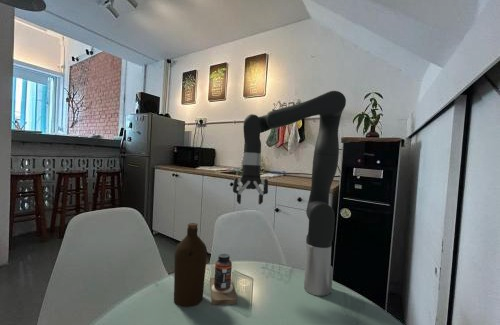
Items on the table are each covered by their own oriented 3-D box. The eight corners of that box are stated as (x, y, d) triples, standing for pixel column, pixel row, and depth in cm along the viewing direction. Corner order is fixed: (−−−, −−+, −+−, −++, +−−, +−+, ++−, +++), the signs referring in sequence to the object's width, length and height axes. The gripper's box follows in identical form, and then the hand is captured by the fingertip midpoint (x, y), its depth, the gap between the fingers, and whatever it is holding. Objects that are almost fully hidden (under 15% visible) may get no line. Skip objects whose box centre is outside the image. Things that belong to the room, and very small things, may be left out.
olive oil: (210, 301, 80) (214, 225, 81) (180, 312, 73) (185, 229, 74) (194, 288, 88) (198, 219, 89) (166, 297, 81) (170, 222, 82)
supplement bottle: (227, 292, 84) (229, 259, 84) (211, 289, 85) (213, 257, 85) (232, 284, 89) (234, 253, 90) (217, 282, 91) (218, 251, 91)
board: (230, 281, 95) (230, 276, 95) (236, 303, 80) (236, 298, 80) (209, 281, 94) (210, 277, 94) (211, 305, 78) (212, 300, 78)
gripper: (235, 163, 95) (233, 205, 94) (271, 165, 98) (269, 205, 97) (233, 163, 102) (231, 202, 102) (266, 165, 105) (264, 202, 105)
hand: (249, 203), depth 99 cm, fingers open, 8 cm apart
